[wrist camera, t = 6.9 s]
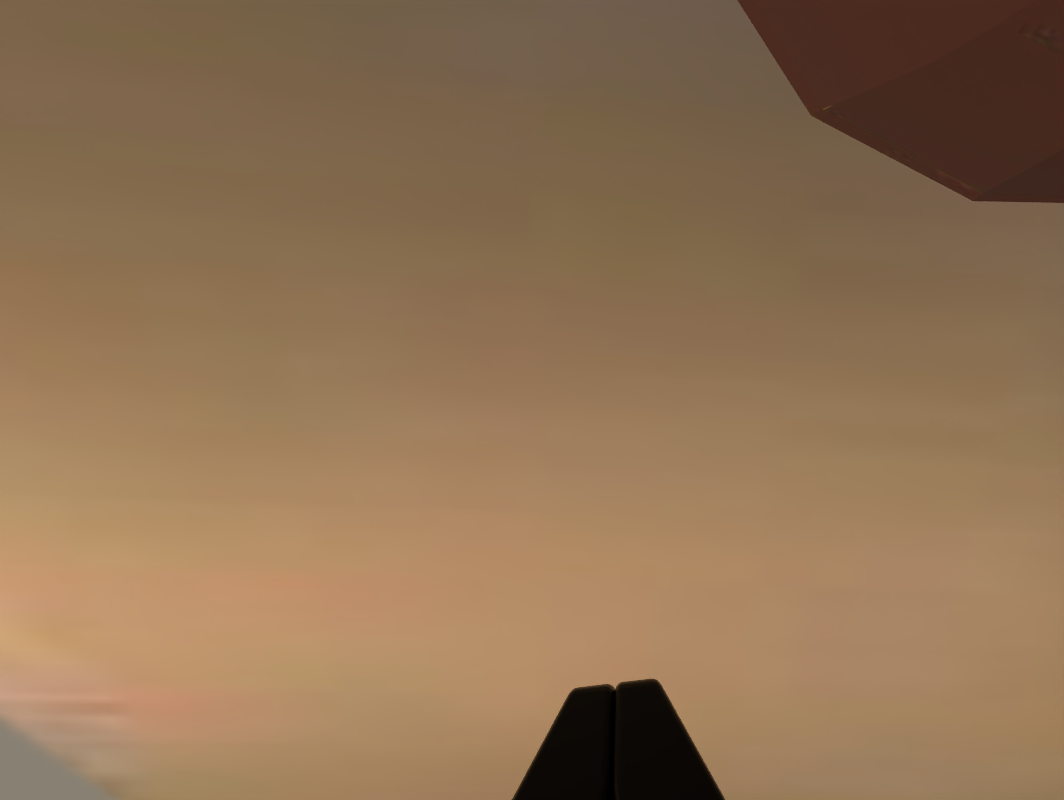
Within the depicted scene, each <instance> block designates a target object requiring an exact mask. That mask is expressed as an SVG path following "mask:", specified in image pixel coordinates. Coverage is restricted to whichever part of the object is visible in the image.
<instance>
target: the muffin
mask: <svg viewBox="0 0 1064 800" xmlns="http://www.w3.org/2000/svg"><path fill="white" fill-rule="evenodd" d="M738 2H739V3H740V5H741V6H742V8H743V9H744V11H745V13H746V14H747V16H748V17H749V19H750V20H751V22H752V24H753V25H754V27H755V28H756V30H757V31H758V33H759V35H760V36H761V38H762V39H763V41H764V42H765V44H766V46H767V47H768V49H769V50H770V52H771V53H772V55H773V57H774V58H775V60H776V61H777V63H778V64H779V66H780V68H781V69H782V71H783V72H784V74H785V75H786V77H787V79H788V80H789V82H790V83H791V85H792V86H793V88H794V90H795V91H796V93H797V94H798V96H799V97H800V99H801V101H802V102H803V104H804V105H805V107H806V108H807V110H808V112H809V113H810V115H811V116H813V117H815V118H817V119H819V120H820V121H822V122H824V123H826V124H828V125H830V126H832V127H834V128H836V129H838V130H839V131H841V132H843V133H845V134H847V135H849V136H851V137H853V138H855V139H856V140H858V141H860V142H862V143H864V144H866V145H868V146H870V147H872V148H874V149H875V150H877V151H879V152H881V153H883V154H885V155H887V156H889V157H891V158H893V159H894V160H896V161H898V162H900V163H902V164H904V165H906V166H908V167H910V168H911V169H913V170H915V171H917V172H919V173H921V174H923V175H925V176H927V177H929V178H930V179H932V180H934V181H936V182H938V183H940V184H942V185H944V186H946V187H948V188H949V189H951V190H953V191H955V192H957V193H959V194H961V195H963V196H965V197H966V198H968V199H970V200H972V201H1001V202H1051V203H1064V0H738Z"/></svg>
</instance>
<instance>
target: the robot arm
mask: <svg viewBox="0 0 1064 800" xmlns="http://www.w3.org/2000/svg"><path fill="white" fill-rule="evenodd" d="M512 800H725V798H724V797H723V795H722V793H721V791H720V789H719V788H718V786H717V784H716V782H715V780H714V779H713V777H712V775H711V773H710V771H709V770H708V768H707V766H706V764H705V763H704V761H703V759H702V757H701V755H700V754H699V752H698V750H697V748H696V746H695V745H694V743H693V741H692V739H691V737H690V736H689V734H688V732H687V730H686V728H685V727H684V725H683V723H682V721H681V719H680V718H679V716H678V714H677V712H676V710H675V709H674V707H673V705H672V703H671V702H670V700H669V698H668V696H667V694H666V693H665V691H664V689H663V687H662V685H661V684H660V683H659V682H658V681H657V680H655V679H645V680H637V681H628V682H621V683H619V684H618V685H617V687H616V690H615V688H614V687H613V686H611V685H609V684H603V685H595V686H587V687H579V688H575V689H574V690H572V691H571V692H570V693H569V695H568V697H567V699H566V700H565V702H564V704H563V706H562V708H561V710H560V712H559V713H558V715H557V717H556V719H555V721H554V723H553V725H552V726H551V728H550V730H549V732H548V734H547V736H546V738H545V739H544V741H543V743H542V745H541V747H540V749H539V751H538V752H537V754H536V756H535V758H534V760H533V762H532V764H531V765H530V767H529V769H528V771H527V773H526V775H525V777H524V778H523V780H522V782H521V784H520V786H519V788H518V790H517V791H516V793H515V795H514V797H513V799H512Z"/></svg>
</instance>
